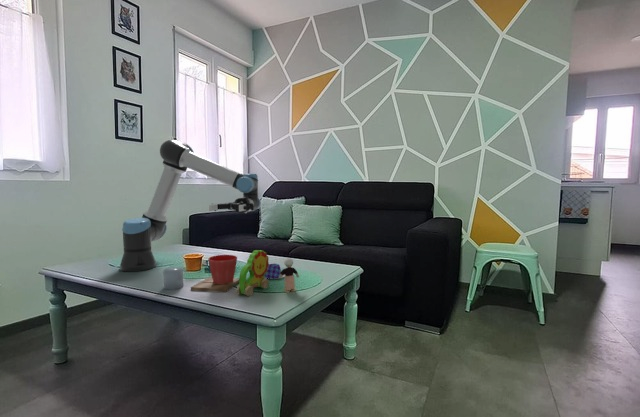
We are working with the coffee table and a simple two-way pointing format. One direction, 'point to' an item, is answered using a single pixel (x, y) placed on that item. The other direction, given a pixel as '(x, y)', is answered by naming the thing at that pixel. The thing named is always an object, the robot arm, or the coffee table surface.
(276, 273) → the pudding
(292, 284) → the grandmother figurine
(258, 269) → the toy lion
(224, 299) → the coffee table surface
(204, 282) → the trivet
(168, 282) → the grey rounded cylinder
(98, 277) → the coffee table surface
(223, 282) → the flower pot
